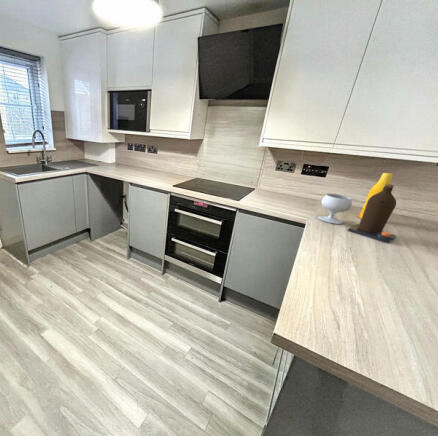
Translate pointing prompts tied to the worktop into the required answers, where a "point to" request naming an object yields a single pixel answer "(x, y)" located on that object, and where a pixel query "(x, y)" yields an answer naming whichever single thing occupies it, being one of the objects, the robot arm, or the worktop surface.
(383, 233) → the tare button
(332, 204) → the chalice
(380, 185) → the beer bottle
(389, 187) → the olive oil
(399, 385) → the worktop surface
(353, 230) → the scale
